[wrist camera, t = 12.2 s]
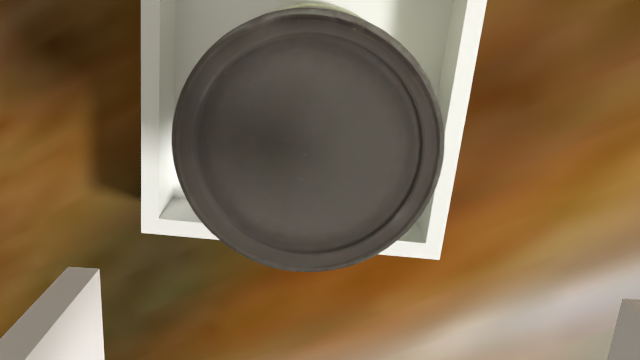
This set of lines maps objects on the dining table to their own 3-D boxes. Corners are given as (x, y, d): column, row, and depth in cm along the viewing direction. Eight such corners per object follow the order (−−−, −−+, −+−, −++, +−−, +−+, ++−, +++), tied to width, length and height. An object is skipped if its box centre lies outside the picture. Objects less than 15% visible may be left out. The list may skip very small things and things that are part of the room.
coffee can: (401, 161, 36) (448, 262, 23) (241, 175, 37) (194, 283, 23) (393, -10, 33) (442, -7, 20) (216, 8, 33) (146, 22, 20)
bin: (426, 229, 39) (439, 259, 35) (161, 205, 38) (141, 232, 34) (475, -54, 33) (498, -61, 29) (164, -87, 33) (140, -99, 28)
